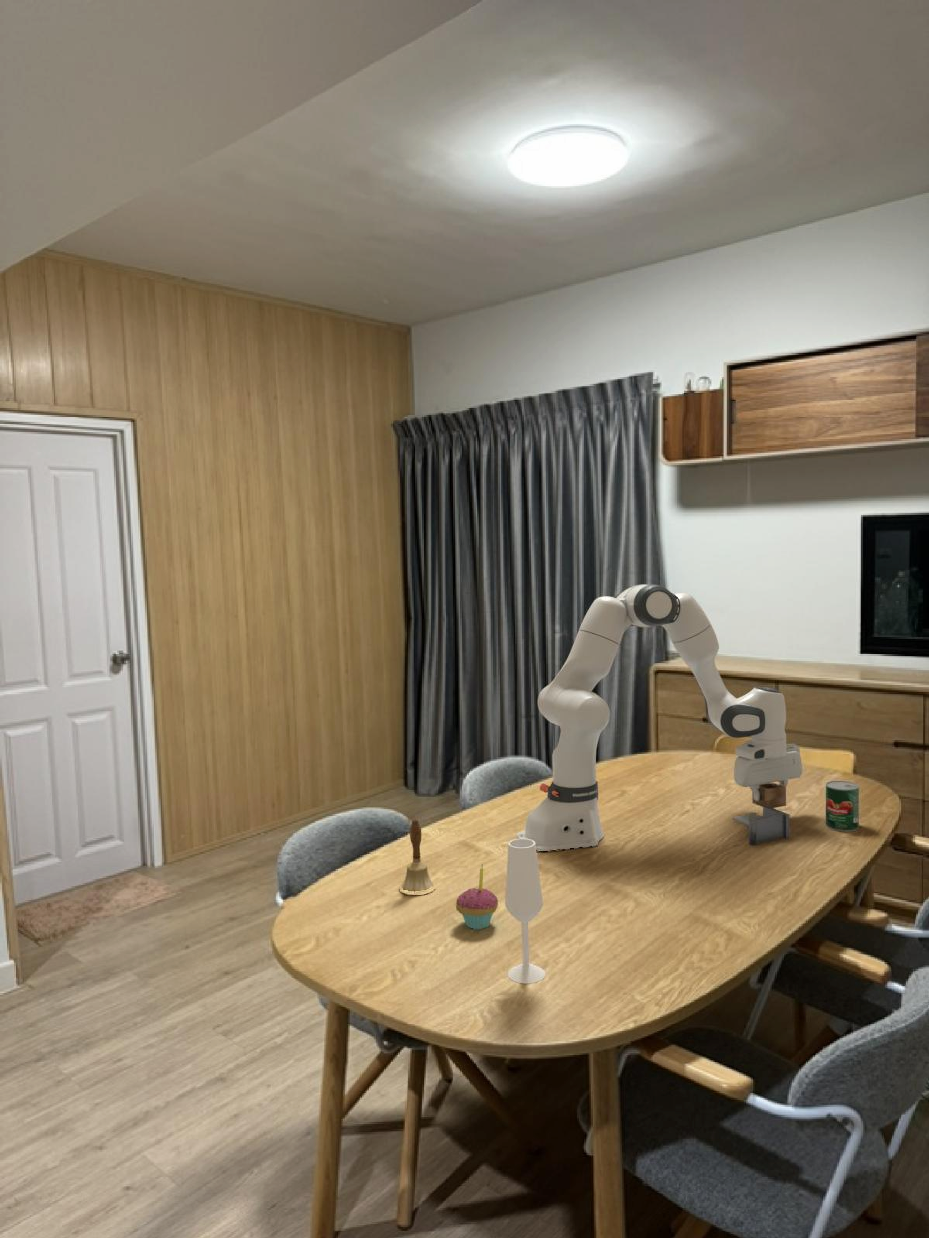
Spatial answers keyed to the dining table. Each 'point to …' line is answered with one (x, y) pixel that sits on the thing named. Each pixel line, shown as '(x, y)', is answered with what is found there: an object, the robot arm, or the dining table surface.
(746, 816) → the mat
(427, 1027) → the dining table surface
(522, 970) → the champagne flute
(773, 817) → the bent rail
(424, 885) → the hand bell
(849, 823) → the canned tomato
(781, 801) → the brown hollow square block
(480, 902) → the cupcake
